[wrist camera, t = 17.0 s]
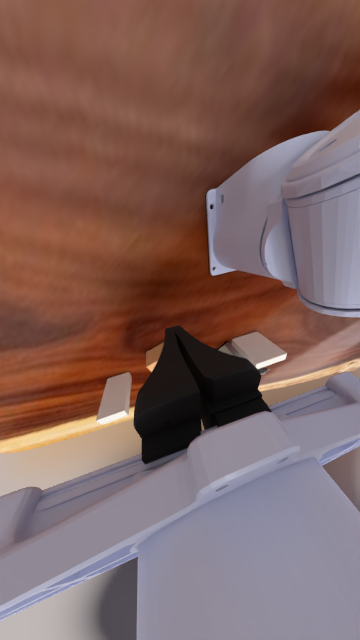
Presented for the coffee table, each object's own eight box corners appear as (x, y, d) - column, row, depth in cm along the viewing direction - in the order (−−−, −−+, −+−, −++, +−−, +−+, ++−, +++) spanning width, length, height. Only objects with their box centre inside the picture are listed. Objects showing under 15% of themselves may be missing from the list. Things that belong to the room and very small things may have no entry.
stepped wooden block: (146, 352, 24) (146, 366, 21) (167, 340, 24) (170, 353, 21) (171, 379, 29) (174, 394, 26) (189, 369, 29) (194, 383, 26)
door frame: (107, 378, 24) (96, 420, 19) (256, 331, 28) (287, 353, 22) (111, 383, 25) (101, 425, 19) (255, 336, 29) (284, 359, 23)
